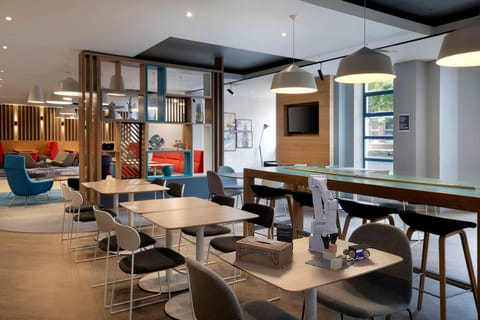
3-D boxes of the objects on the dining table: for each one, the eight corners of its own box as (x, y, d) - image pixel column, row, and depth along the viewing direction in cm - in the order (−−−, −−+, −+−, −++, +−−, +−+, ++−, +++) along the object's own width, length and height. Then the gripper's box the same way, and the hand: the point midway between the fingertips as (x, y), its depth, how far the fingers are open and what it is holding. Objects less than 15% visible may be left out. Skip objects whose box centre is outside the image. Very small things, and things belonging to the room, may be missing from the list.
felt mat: (304, 263, 196) (304, 262, 196) (323, 254, 211) (323, 253, 211) (339, 272, 184) (339, 271, 184) (355, 262, 199) (355, 261, 199)
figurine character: (351, 264, 198) (373, 259, 204) (350, 250, 197) (372, 245, 203) (342, 261, 204) (364, 255, 210) (342, 247, 203) (364, 242, 209)
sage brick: (336, 270, 186) (336, 262, 186) (330, 268, 188) (330, 260, 188) (341, 266, 190) (341, 259, 190) (335, 265, 192) (336, 257, 192)
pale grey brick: (322, 258, 204) (323, 250, 203) (325, 256, 206) (325, 249, 206) (333, 260, 200) (333, 253, 200) (335, 259, 202) (336, 251, 202)
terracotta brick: (323, 251, 203) (324, 243, 203) (326, 249, 205) (326, 242, 205) (334, 253, 199) (334, 246, 199) (336, 252, 202) (337, 244, 201)
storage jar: (272, 252, 213) (272, 226, 212) (281, 248, 221) (282, 223, 220) (286, 256, 207) (287, 229, 206) (296, 252, 214) (297, 226, 213)
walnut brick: (341, 266, 191) (341, 258, 191) (335, 264, 194) (336, 257, 193) (346, 263, 196) (346, 255, 196) (340, 261, 198) (341, 254, 198)
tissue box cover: (291, 262, 198) (292, 243, 197) (279, 270, 185) (280, 250, 185) (249, 253, 211) (249, 235, 211) (235, 260, 199) (235, 241, 198)
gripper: (331, 225, 194) (330, 251, 194) (343, 221, 205) (342, 245, 205) (318, 223, 198) (318, 248, 199) (331, 219, 209) (330, 243, 210)
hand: (329, 247), depth 203 cm, fingers open, 7 cm apart
